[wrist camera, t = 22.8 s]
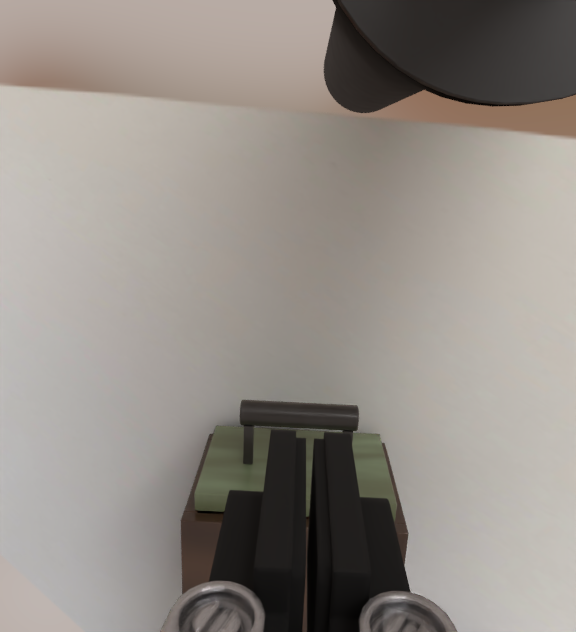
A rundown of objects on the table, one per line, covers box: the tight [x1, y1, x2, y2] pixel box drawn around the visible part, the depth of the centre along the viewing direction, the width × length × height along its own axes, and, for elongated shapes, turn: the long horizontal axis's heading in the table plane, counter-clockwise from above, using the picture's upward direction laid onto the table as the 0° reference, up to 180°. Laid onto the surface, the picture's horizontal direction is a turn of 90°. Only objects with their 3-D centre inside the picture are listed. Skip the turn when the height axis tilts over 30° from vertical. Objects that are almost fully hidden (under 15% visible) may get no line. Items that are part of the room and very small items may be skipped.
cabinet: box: [181, 434, 408, 632], centre depth 37 cm, size 14×13×10 cm
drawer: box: [195, 400, 397, 521], centre depth 36 cm, size 17×11×8 cm
